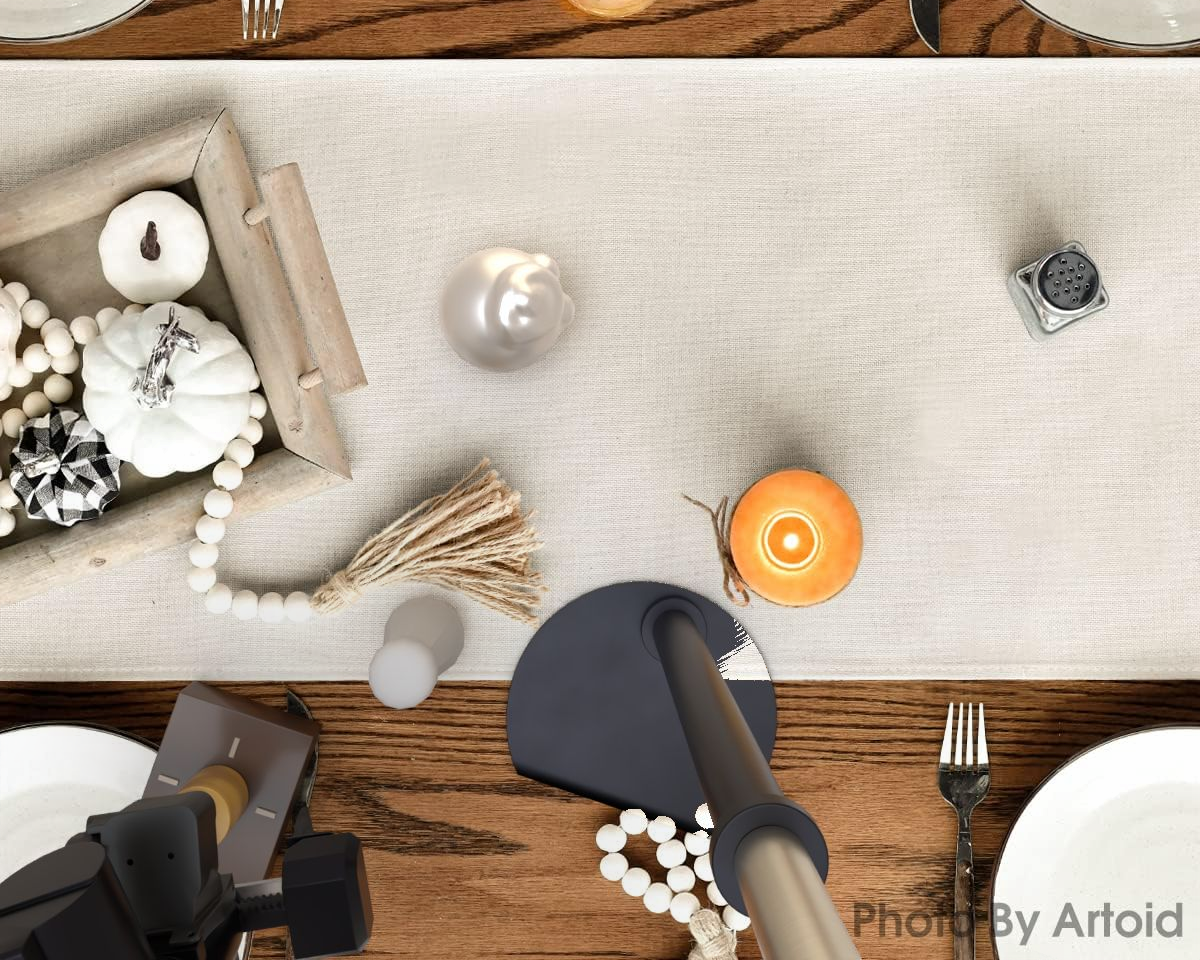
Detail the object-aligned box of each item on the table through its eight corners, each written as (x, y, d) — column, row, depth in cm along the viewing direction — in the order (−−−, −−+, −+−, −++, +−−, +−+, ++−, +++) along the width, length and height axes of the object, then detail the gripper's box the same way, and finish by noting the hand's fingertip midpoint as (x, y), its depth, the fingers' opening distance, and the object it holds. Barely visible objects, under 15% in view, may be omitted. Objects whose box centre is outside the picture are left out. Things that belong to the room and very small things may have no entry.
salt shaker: (377, 608, 77) (337, 652, 64) (449, 577, 77) (424, 615, 64) (408, 681, 77) (375, 740, 64) (480, 650, 77) (461, 702, 64)
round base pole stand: (725, 888, 77) (1001, 1797, 27) (469, 802, 77) (278, 1561, 27) (811, 631, 78) (1233, 1060, 28) (558, 544, 78) (531, 822, 28)
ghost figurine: (554, 389, 78) (552, 389, 68) (432, 355, 78) (411, 350, 68) (587, 273, 78) (589, 256, 68) (465, 238, 78) (450, 217, 68)
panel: (268, 880, 76) (255, 901, 73) (138, 836, 76) (119, 856, 73) (323, 723, 77) (313, 738, 74) (194, 679, 77) (178, 692, 73)
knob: (242, 758, 74) (221, 781, 69) (254, 820, 73) (234, 847, 69) (180, 772, 73) (155, 796, 69) (192, 834, 73) (168, 861, 69)
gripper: (320, 844, 49) (363, 684, 64) (-91, 907, 48) (52, 729, 63) (355, 1046, 51) (389, 845, 67) (-38, 1111, 50) (89, 891, 65)
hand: (232, 824), depth 65 cm, fingers open, 9 cm apart
